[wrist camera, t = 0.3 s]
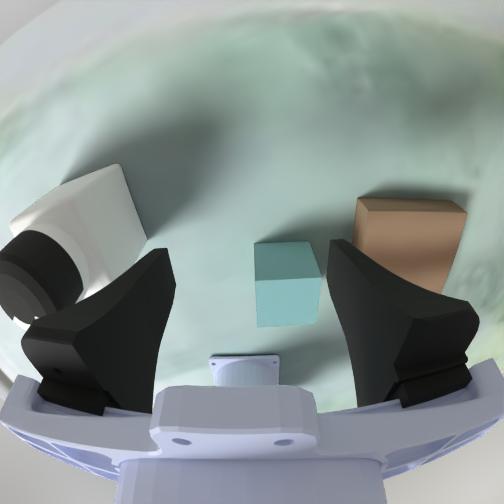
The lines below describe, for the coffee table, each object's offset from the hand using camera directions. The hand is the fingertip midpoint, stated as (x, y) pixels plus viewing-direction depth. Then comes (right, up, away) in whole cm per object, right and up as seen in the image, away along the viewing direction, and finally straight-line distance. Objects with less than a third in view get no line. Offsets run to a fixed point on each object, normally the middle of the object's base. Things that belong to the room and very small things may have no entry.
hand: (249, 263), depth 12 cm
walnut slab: (+14, +1, +11) cm, 18 cm away
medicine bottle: (-13, +4, +9) cm, 16 cm away
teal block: (+3, -1, +12) cm, 12 cm away
